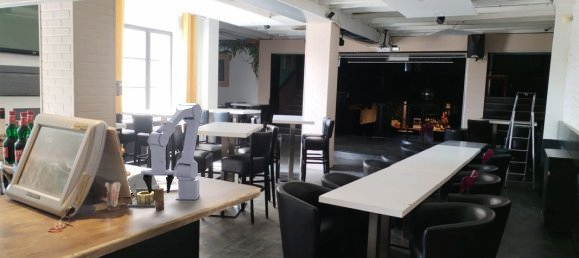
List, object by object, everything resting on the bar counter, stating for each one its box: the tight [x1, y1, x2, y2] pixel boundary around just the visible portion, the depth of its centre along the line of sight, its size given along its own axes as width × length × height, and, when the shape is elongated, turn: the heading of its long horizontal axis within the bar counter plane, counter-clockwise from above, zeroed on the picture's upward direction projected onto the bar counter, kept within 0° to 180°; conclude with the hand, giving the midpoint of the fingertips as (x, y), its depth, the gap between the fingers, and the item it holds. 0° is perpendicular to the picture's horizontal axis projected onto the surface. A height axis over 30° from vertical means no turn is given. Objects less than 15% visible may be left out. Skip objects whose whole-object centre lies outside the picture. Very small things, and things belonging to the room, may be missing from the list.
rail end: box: [155, 187, 165, 212], centre depth 180 cm, size 4×4×9 cm
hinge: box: [127, 172, 161, 196], centre depth 208 cm, size 17×5×10 cm, turn 150°
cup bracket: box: [127, 188, 156, 208], centre depth 189 cm, size 12×12×5 cm
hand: (159, 192), depth 180 cm, fingers open, 7 cm apart
